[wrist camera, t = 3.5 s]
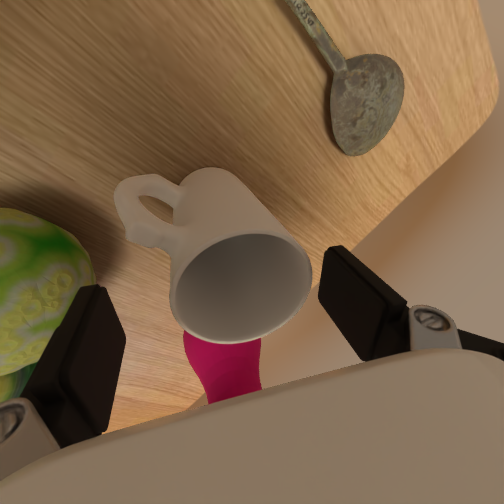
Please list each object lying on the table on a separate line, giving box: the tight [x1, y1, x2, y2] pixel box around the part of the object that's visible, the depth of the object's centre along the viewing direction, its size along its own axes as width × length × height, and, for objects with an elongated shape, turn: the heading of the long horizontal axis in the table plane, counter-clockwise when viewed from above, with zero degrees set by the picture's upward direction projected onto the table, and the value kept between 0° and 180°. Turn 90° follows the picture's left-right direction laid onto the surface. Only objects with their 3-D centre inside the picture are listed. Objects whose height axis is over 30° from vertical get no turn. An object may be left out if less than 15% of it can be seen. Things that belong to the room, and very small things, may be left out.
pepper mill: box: [183, 330, 262, 404], centre depth 19 cm, size 7×7×20 cm
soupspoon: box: [285, 0, 404, 156], centre depth 16 cm, size 22×3×7 cm
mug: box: [114, 167, 312, 344], centre depth 16 cm, size 10×7×12 cm, turn 52°
